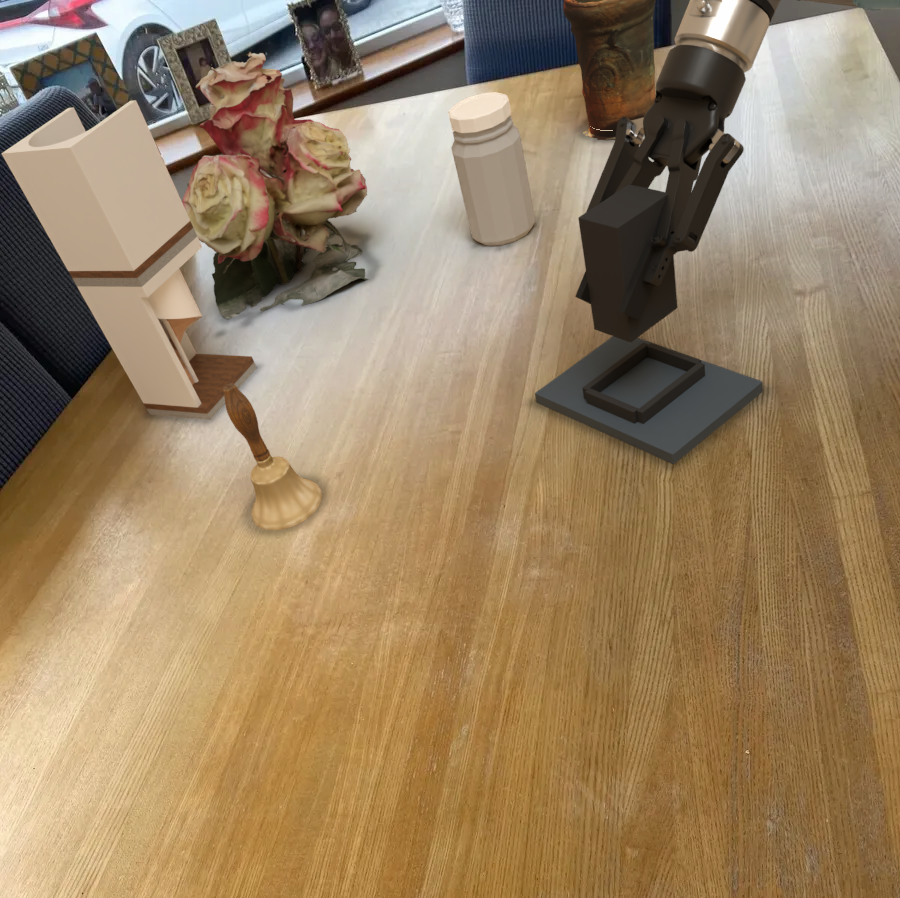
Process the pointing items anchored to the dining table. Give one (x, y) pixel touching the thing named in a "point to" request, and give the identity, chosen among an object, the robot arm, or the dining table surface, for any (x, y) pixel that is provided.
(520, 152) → the jar
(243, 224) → the rose bouquet
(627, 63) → the vessel
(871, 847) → the dining table surface
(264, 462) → the hand bell
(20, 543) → the dining table surface
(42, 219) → the coffee grinder
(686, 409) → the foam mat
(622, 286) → the pad block
